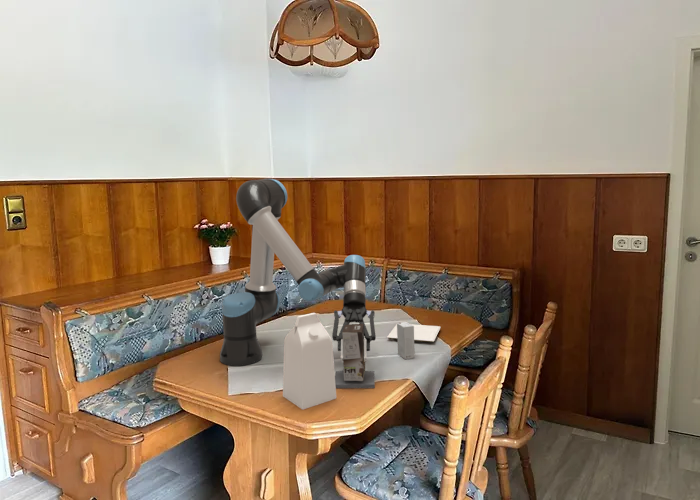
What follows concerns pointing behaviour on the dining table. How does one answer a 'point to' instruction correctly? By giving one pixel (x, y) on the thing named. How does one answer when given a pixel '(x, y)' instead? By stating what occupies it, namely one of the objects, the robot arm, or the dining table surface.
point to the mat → (366, 383)
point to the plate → (419, 333)
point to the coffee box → (353, 352)
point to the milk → (308, 363)
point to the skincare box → (405, 340)
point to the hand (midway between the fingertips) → (353, 359)
